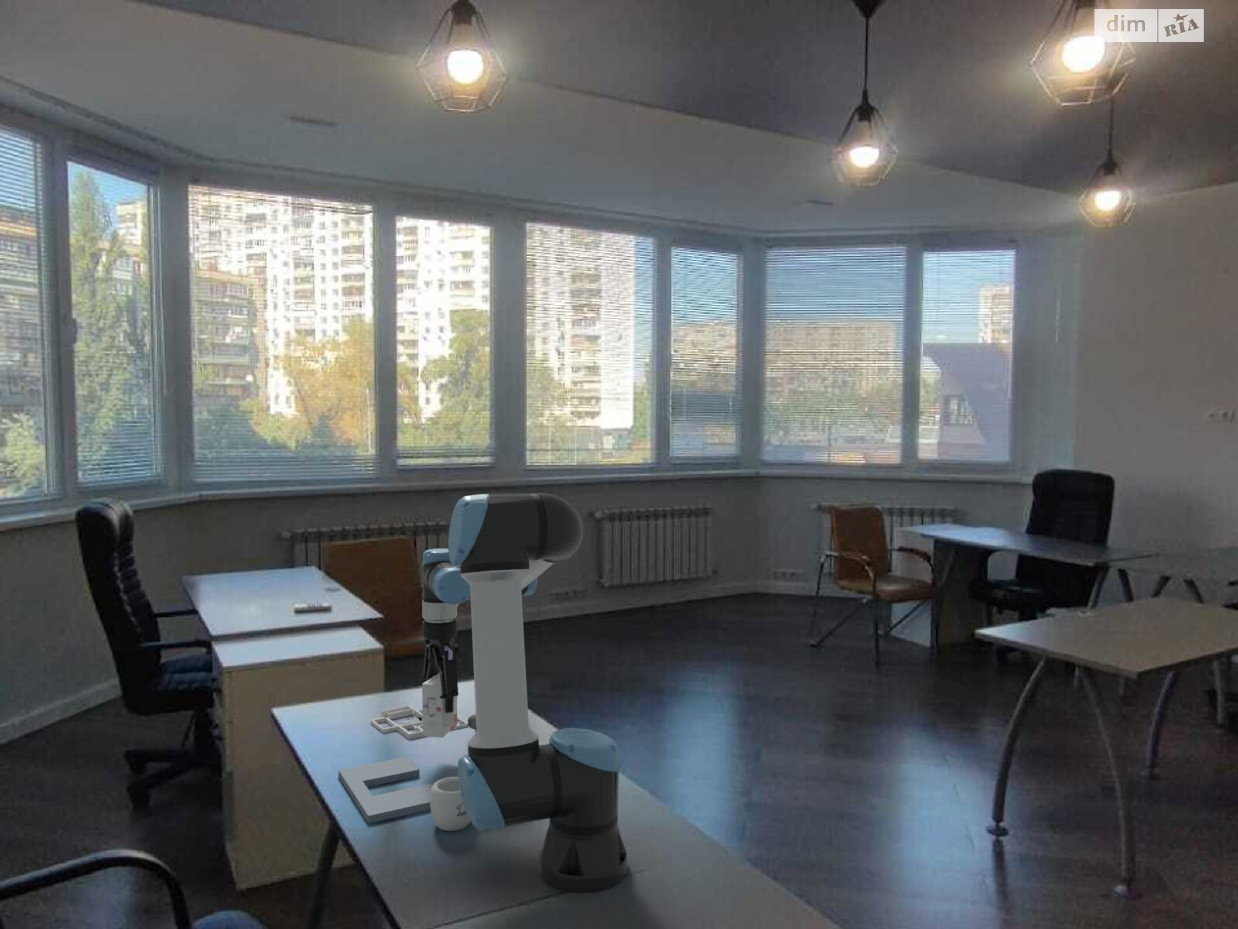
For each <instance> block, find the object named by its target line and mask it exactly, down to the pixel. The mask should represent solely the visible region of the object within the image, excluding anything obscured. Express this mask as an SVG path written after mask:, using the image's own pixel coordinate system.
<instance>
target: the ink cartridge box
mask: <svg viewBox="0 0 1238 929" xmlns="http://www.w3.org/2000/svg"><path fill="white" fill-rule="evenodd" d="M441 673H442V671H441ZM421 690H422V692H421V693H422V694H421V695H422V696H421V697H422V710H423V713H422V714H423V737H428V738H429V737H431V738H444V737H445V736H446V735H447V734H448V733H449V732H451V731H453V730H452V729H453V728H454V727H455V726H457V725H458V721H457V717H458V696H455V697H454V726H449V727H443V728H442V727H441V699H440V696H441V695H443V694H442V686H441V681H440V674H436V675H435V676H433V677H432V678H430V679H429V680H427V681H426V682H425V681H424V682H423V683H422V684H421Z"/></svg>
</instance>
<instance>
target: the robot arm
mask: <svg viewBox="0 0 1238 929" xmlns="http://www.w3.org/2000/svg"><path fill="white" fill-rule="evenodd" d="M583 538H584V526H583V522H582V518H581V517H580V515H579V513H578V511H577V509H576V508H574V507H573V505H571V503H569V502H567V501H566V500H565V499H563V498H561V497H560V496H557V495H555V494H551V493H545V492H542V493H541V492H535V493H481V494H472V495H464V496H463V497H462V498H459V500H458V501H457V503H456V504H455V506H454V509H453V512H452V514H451V519H450V524H449V530H448V543H447V544H448V548H429V549H427V550H425V551H424V552H423V554H422V564H421V568H422V601H421V602H422V606H421V608H422V609H421V610H422V611H421V613H422V614H421V617H422V619H424V620H423V621H422V637H423V638H424V654H423V655H424V657H423V666H422V667H423V669H422V679H423V680H424V682H426V681H427V680H429V679H430V678H432V677H433V676H435V675H436V674H440V681H441V686H442V694H443V695H441V696H440V699H441V727H442V728H443V727H449V726H454V697H455V696H457V697H458V696H459V684H458V683H459V682H458V674H457V660H456V659H457V651H456V649H453V648H452V645H451V639H453V638H456V637H457V635H458V620H457V619H456V618H457V617H458V607H459V606H460V604H462V603H464V602H466V601H470V615H471V617H470V618H471V637H472V638H471V639H472V658H473V659H472V660H473V681H474V682H473V683H474V704H475V708H474V709H475V714H476V730H477V731H476V733H475V732H474V735H473V736H472V737H471V738H470V739H469V740H468V742H467V754H464V755H462V756H461V757H459V759H458V760H457V777H458V780H459V786H460V792H461V796H462V800H463V804H464V807H465V810H466V813H467V815H468V817H469V819H470V821H471V822H470V823H471V824H472V826H474V827H475V828H477V829H478V830H489V829H497V828H498V829H504V828H505V827H510V826H515V825H521V824H526V823H533V822H536V821H537V822H538V821H543V820H548V819H549V826H548V828H547V830H546V833H545V837H544V840H543V842H542V845H541V846H542V847H541V849H540V852H539V853H538V854H539V855H538V873H539V876H540V877H541V878H542V880H544V882H546V883H547V884H548V885H550V886H552V887H553V888H556V889H560V890H562V891H563V890H564V891H568V892H573V893H591V892H597V891H602V890H606V889H609V888H611V887H613V886H616V885H617V884H619V883H620V882H621V881H622V880H623V879H624V878H625V876H627V873H628V853H627V850H626V847H625V843H624V839H623V837H622V833H621V830H620V827H619V822H618V820H619V819H618V818H619V779H620V778H619V777H620V774H619V773H620V769H621V766H620V764H619V762H620V761H619V747H618V745H617V743H616V742H615V741H614V740H613V739H612V738H611V737H610V736H608V735H606V734H604V733H602V732H599V731H595V730H591V729H586V728H580V727H579V728H578V727H577V728H576V727H567V728H565V727H564V728H560V729H557V730H555V731H553V732H552V733H551V735H550V737H549V739H548V740H549V743H547V744H541V745H540V743H539V742H540V741H539V735H538V734H537V733H536V732H535V731H534V730H533V729H531V727H530V726H529V725H530V724H529V707H528V706H529V705H528V690H527V671H526V670H527V669H526V655H525V654H526V652H525V635H524V632H525V631H524V615H523V597H524V596H531V595H533V594H534V593H535V592H536V590H537V586H538V577H540V576H541V575H542V574H543V573H544V572H545V571H547V570H548V569H549V568H550V567H551V566H552V565H553V564H560V563H562V562H564V561H566V560H568V559H569V558H571V557H572V556H573V555H574V554H575V553H576V552H577V550H578V549H579V548H580V546H581V543H582V541H583ZM441 671H442V673H441Z"/></svg>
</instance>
